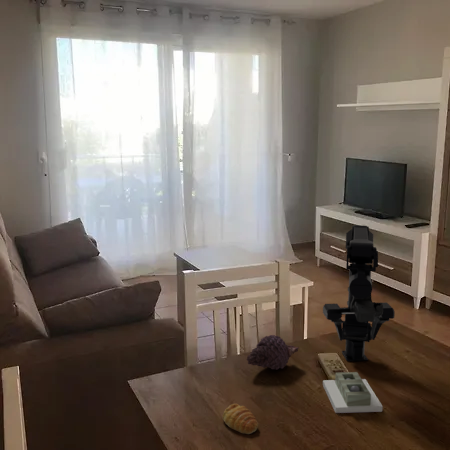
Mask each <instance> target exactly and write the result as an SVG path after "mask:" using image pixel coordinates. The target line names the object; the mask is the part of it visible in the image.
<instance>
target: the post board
mask: <svg viewBox="0 0 450 450" xmlns="http://www.w3.org/2000/svg"><path fill="white" fill-rule="evenodd" d="M361 379H362V381H363V383H364V384H365V386H366V387H367V389H368V391H369V392H370V394H371V404H370V405H369V406H347V405H346V403H345V401H344V399H343V397H342V395H341V393H340V391H339V389H338V387H337V385H336V383H335V379H328V380H327V379H326V380H325V379H324V380H322V386H323V390H324V391H325V393H326V395H327V398H328V400H329V401H330V404H331V406H332V408H333V411H334V412H335V414H340V413H341V414H344V413H345V414H346V413H347V414H349V413H374V412H376V413H377V412H378V413H381V412H383V407H384V406H383V405H382V403H381V401H380V400H379V398H378V396H376V394H375V391H373V389H372V387H371V386H370V384H369V383H368V380H367V379H366V378H361ZM346 380H350V378H347V379H346ZM350 392H360V389H359V387H357V386H352V387H351V389H350Z"/></svg>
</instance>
